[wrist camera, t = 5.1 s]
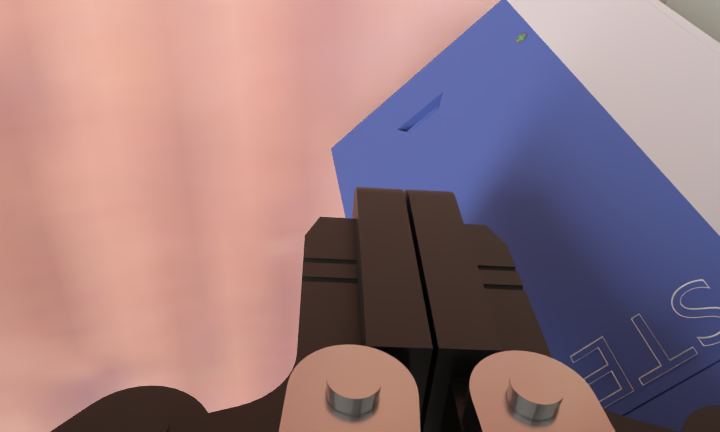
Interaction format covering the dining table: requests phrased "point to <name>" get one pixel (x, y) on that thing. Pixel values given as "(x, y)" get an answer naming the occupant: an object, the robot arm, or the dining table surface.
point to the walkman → (579, 182)
